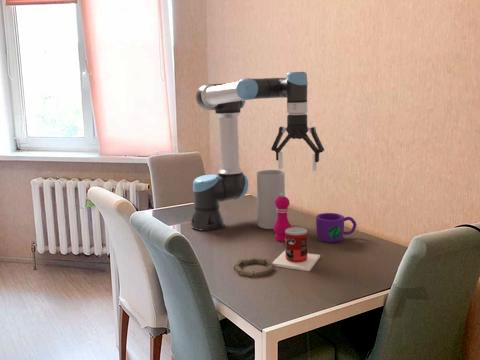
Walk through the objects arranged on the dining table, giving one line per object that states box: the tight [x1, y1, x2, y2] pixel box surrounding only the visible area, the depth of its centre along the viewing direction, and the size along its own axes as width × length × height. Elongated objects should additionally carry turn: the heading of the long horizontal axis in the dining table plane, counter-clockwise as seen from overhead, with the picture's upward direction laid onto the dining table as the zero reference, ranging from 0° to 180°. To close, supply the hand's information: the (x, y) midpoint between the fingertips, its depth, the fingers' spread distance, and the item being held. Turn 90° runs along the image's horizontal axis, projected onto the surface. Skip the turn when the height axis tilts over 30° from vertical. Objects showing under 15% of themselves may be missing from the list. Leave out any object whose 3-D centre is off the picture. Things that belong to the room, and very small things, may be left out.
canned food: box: [284, 226, 308, 262], centre depth 171 cm, size 8×8×11 cm
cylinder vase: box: [256, 169, 286, 230], centre depth 214 cm, size 12×12×25 cm
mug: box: [315, 212, 358, 244], centre depth 195 cm, size 17×11×10 cm, turn 101°
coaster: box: [272, 250, 321, 272], centre depth 172 cm, size 14×14×1 cm
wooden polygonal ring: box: [233, 257, 275, 278], centre depth 167 cm, size 13×13×2 cm
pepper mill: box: [273, 193, 292, 242], centre depth 195 cm, size 7×7×20 cm
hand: (297, 169), depth 180 cm, fingers open, 13 cm apart
